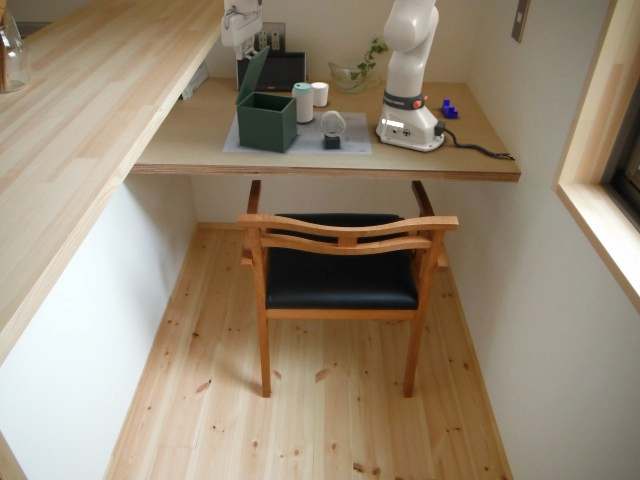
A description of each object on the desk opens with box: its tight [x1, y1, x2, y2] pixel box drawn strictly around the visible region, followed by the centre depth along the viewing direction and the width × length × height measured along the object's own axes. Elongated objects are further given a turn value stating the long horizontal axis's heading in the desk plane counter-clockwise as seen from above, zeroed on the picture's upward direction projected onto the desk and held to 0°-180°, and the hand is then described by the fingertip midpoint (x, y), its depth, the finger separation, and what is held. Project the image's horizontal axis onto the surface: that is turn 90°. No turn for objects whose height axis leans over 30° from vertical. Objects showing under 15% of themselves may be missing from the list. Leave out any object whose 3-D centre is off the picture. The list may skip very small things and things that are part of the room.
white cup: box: [309, 81, 330, 108], centre depth 170 cm, size 7×7×7 cm
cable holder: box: [441, 98, 459, 119], centre depth 166 cm, size 8×4×4 cm, turn 2°
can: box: [291, 82, 314, 124], centre depth 157 cm, size 7×7×12 cm
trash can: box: [235, 91, 298, 153], centre depth 144 cm, size 15×13×13 cm
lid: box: [234, 45, 271, 106], centre depth 136 cm, size 15×13×5 cm
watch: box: [319, 110, 347, 150], centre depth 143 cm, size 6×8×11 cm
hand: (245, 55), depth 133 cm, fingers closed on lid, 5 cm apart
